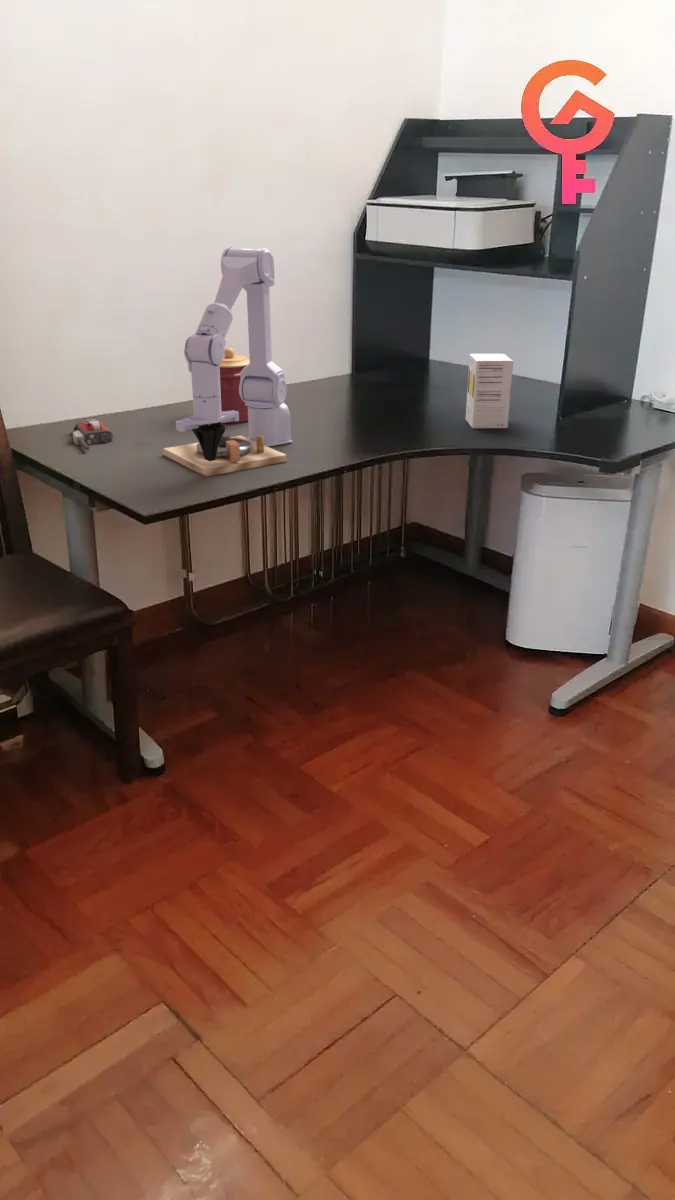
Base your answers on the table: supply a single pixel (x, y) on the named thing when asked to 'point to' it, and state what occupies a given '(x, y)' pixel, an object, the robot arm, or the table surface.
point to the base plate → (220, 465)
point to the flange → (231, 449)
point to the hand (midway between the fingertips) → (210, 459)
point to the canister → (232, 384)
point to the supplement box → (489, 390)
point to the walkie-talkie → (91, 433)
